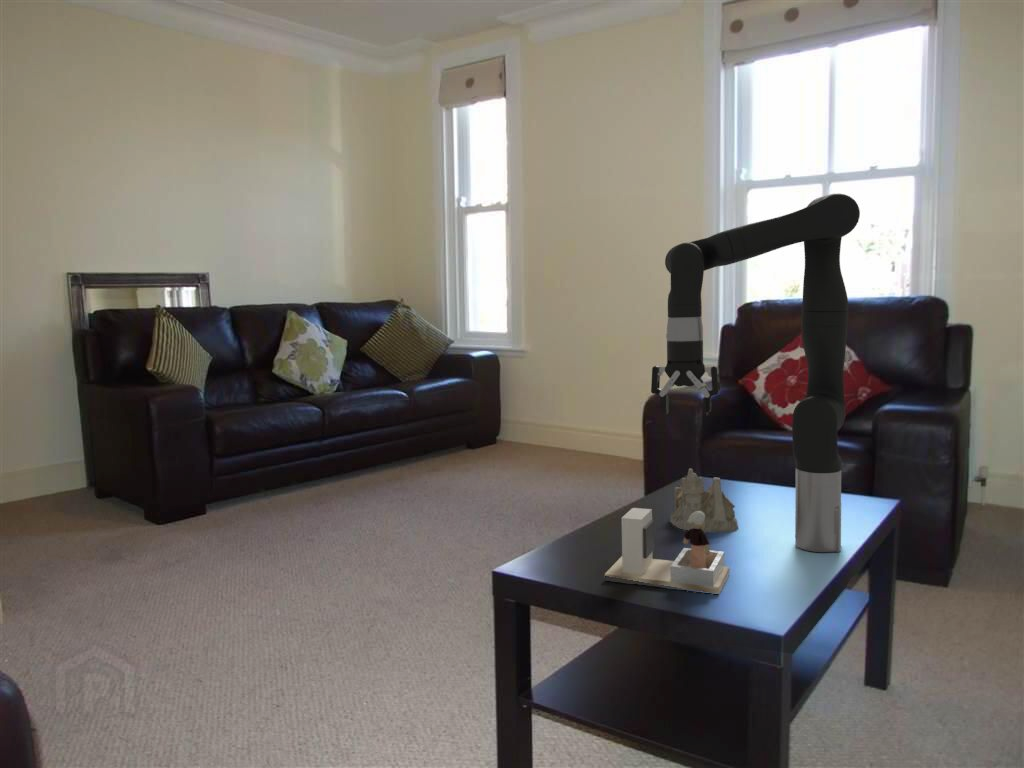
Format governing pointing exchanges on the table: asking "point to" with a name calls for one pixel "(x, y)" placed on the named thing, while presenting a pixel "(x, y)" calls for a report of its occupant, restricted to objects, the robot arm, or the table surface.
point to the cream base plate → (665, 576)
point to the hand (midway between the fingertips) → (685, 414)
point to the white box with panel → (637, 540)
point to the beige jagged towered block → (703, 505)
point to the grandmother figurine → (697, 540)
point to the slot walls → (697, 569)
